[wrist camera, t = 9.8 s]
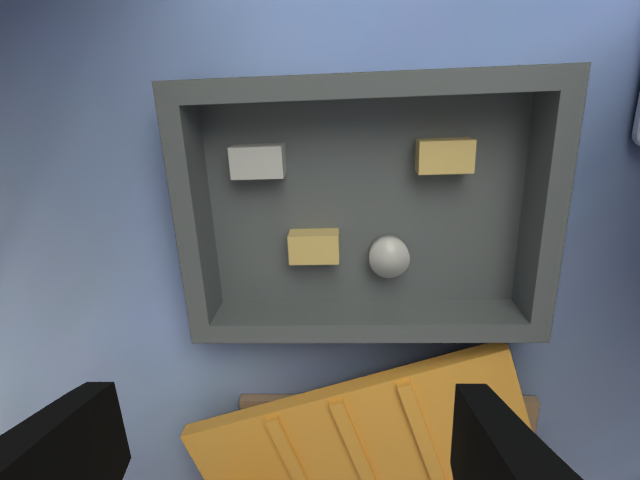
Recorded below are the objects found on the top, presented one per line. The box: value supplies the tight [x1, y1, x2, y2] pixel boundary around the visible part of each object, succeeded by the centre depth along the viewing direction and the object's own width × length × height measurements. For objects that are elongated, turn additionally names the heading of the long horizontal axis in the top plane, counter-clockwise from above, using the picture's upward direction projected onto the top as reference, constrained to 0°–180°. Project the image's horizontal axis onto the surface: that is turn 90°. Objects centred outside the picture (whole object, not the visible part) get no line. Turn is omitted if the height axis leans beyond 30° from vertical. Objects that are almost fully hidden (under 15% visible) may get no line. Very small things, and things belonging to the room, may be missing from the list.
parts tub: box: [152, 62, 591, 343], centre depth 17 cm, size 14×10×3 cm
